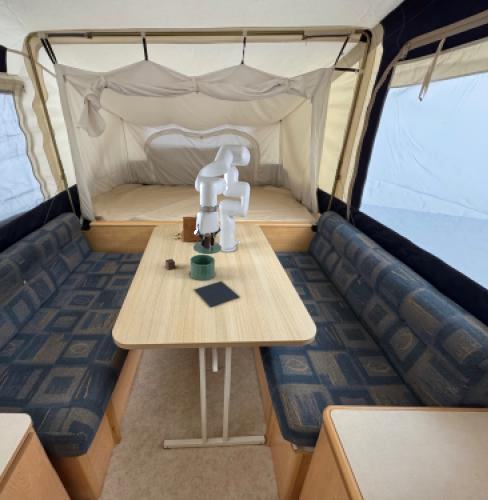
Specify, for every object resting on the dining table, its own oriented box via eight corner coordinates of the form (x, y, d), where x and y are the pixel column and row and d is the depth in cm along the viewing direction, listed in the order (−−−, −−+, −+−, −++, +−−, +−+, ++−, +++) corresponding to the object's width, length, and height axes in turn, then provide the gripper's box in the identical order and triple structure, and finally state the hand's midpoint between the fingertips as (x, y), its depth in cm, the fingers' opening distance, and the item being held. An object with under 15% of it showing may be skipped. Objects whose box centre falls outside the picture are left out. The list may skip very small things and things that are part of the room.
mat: (221, 282, 134) (221, 281, 134) (238, 297, 122) (238, 296, 122) (194, 290, 127) (194, 289, 127) (210, 306, 115) (210, 306, 115)
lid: (212, 241, 136) (212, 228, 133) (227, 251, 125) (227, 237, 122) (188, 246, 130) (188, 233, 127) (201, 257, 119) (201, 243, 116)
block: (172, 265, 150) (172, 258, 148) (175, 268, 147) (174, 261, 145) (165, 266, 148) (165, 260, 146) (168, 269, 145) (168, 263, 143)
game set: (212, 231, 198) (212, 206, 190) (217, 243, 179) (218, 215, 170) (174, 232, 195) (173, 207, 187) (175, 244, 175) (174, 217, 167)
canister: (206, 266, 149) (207, 252, 145) (218, 276, 139) (219, 262, 135) (186, 271, 143) (186, 257, 139) (197, 282, 133) (197, 267, 130)
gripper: (219, 204, 126) (218, 240, 133) (187, 208, 118) (188, 246, 126) (228, 208, 120) (226, 245, 127) (195, 212, 112) (195, 252, 120)
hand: (207, 245), depth 127 cm, fingers closed on lid, 3 cm apart
